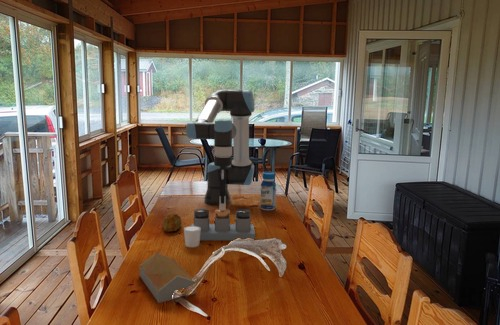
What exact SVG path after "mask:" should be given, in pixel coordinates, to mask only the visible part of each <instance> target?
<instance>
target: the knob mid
mask: <svg viewBox="0 0 500 325" xmlns="http://www.w3.org/2000/svg"><path fill="white" fill-rule="evenodd" d="M215 217H218V218H227V217H230V218H231V210H230V208H226V211H223V210H219V208H216V209H215V210H214V218H215Z"/></svg>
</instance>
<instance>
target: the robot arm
mask: <svg viewBox="0 0 500 325" xmlns="http://www.w3.org/2000/svg"><path fill="white" fill-rule="evenodd" d="M200 111H201V112H200V113H199V114H198V116H197V118H196V120H195V121H189V122H187V123H186V127H185V134H186V138H188V139H193V140H213V142H214V144H213V145H214V148H212V151H213V153H214V157H213V162H210V163H209V164H208V165H207V173H206V174H207V176H206V178H207V181H206V182H207V187H206V192H205V195H204V198H203V199H204V203H206V204H207V205H213V206H216V205H217V206H218V205H219V206H218V207H219V208H218V209H219V210H223V211H226V209H227V208H226V207H227V206H226V205H227V204H230V203H231V200H232V199H231V194H230V192H229V189H228V187H229V185H230V186H231V185H233V186H234V185H236V186H250V185H251V184H252V182H253V180H254V179H253V178H254V173H255V165H254V164H253V162H252V161H251V159H250V122H249V120H250V117H252V113H253V112H255V98H254V94H253V91H252V90H251V89H243V88H239V89H238V88H236V89H235V88H234V89H233V88H227V89H226V88H223V89H218V90H216V91H214V92H212V93H210V94H209V95H208V96H207V98H206V99H205V100H204V107H203V108H202V110H200ZM220 112H229V115H230V117H232V120H231V119H224V118H223V119H222V118H221V119H216V117H217V116H218V114H220ZM215 119H216V120H215ZM232 155H233V157H232Z"/></svg>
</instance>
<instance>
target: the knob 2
mask: <svg viewBox="0 0 500 325" xmlns="http://www.w3.org/2000/svg"><path fill="white" fill-rule="evenodd" d="M251 214H252V213H251V210H250V209H246V208H240V209H236V210H235V218H236V217H237V218H241V219H246V218H250V217H251Z"/></svg>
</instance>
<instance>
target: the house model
mask: <svg viewBox="0 0 500 325" xmlns="http://www.w3.org/2000/svg"><path fill="white" fill-rule="evenodd" d="M138 267H139V277H140V279H141V280H142V281H143V283H144V285H145V286H146V287H147V289H148V290H149V291H150V293H151V294H152V295H153V297H154V299H155V300H156V301H157V303H158V304H161V303H164V302H168V301H173V300H172V295H173V293H174V291H175V290H179V291H180V290H181V289H182V288H184V289H185V288H187V287H189V286H191V285H193V284H195V282H196V284H197V283H198V282H197V281H192V279H194V278H193V277H192V276H191V275H190V274H189V273H188V272H187V271H186V270H185V269H184V268H183V267H182V266H181V265H180V264H179V263H178V262H177V261H176V260H175V258H173V257H171V256H170V257H169V256H167V255H165V254H162V253H159V252H155V253H154V254H152V255H151V256H150V257H148V258H147V259H146V260H145V261H143V262H142V263H140V264H139V265H138ZM196 294H197V288H196V289H195V290H194V291H193V293H192V294H191V295H196ZM191 295H190V296H191Z"/></svg>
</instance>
